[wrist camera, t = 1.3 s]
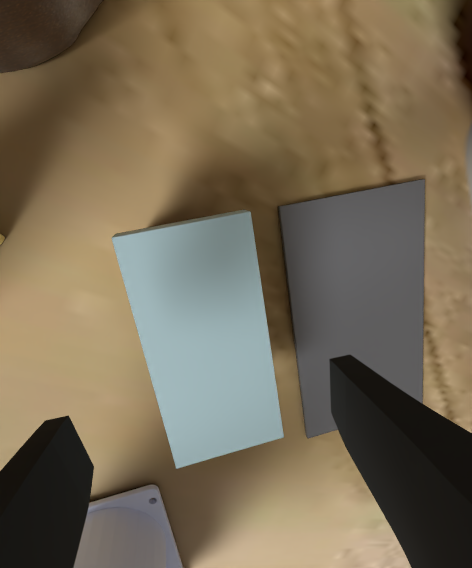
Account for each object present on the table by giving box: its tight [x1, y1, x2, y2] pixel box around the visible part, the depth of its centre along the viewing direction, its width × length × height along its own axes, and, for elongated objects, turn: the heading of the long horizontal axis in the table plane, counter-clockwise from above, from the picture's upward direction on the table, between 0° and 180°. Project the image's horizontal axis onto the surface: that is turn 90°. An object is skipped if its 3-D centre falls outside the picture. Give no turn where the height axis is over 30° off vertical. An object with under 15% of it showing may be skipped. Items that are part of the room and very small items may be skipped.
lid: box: [112, 210, 284, 469], centre depth 15 cm, size 11×5×1 cm, turn 10°
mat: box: [278, 179, 425, 438], centre depth 22 cm, size 16×9×1 cm, turn 10°
